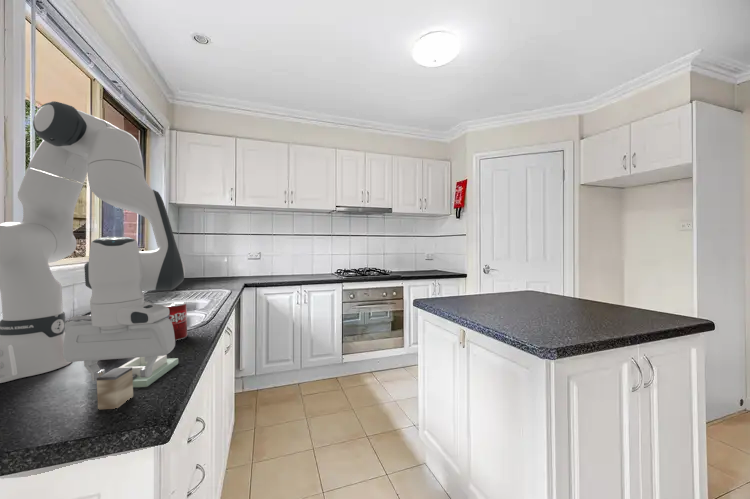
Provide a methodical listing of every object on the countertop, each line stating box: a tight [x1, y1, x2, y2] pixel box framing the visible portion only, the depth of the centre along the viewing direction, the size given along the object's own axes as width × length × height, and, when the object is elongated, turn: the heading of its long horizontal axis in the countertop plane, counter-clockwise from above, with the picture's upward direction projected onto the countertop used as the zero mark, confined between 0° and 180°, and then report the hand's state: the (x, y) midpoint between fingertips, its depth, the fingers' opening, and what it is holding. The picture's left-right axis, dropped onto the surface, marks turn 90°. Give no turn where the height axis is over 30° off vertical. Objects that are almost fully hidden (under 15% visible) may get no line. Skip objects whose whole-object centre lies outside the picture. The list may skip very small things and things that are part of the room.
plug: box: [96, 367, 134, 410], centre depth 67 cm, size 4×5×6 cm
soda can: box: [162, 302, 188, 342], centre depth 111 cm, size 7×7×12 cm
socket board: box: [118, 354, 179, 388], centre depth 81 cm, size 10×14×4 cm
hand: (122, 377), depth 68 cm, fingers open, 8 cm apart
